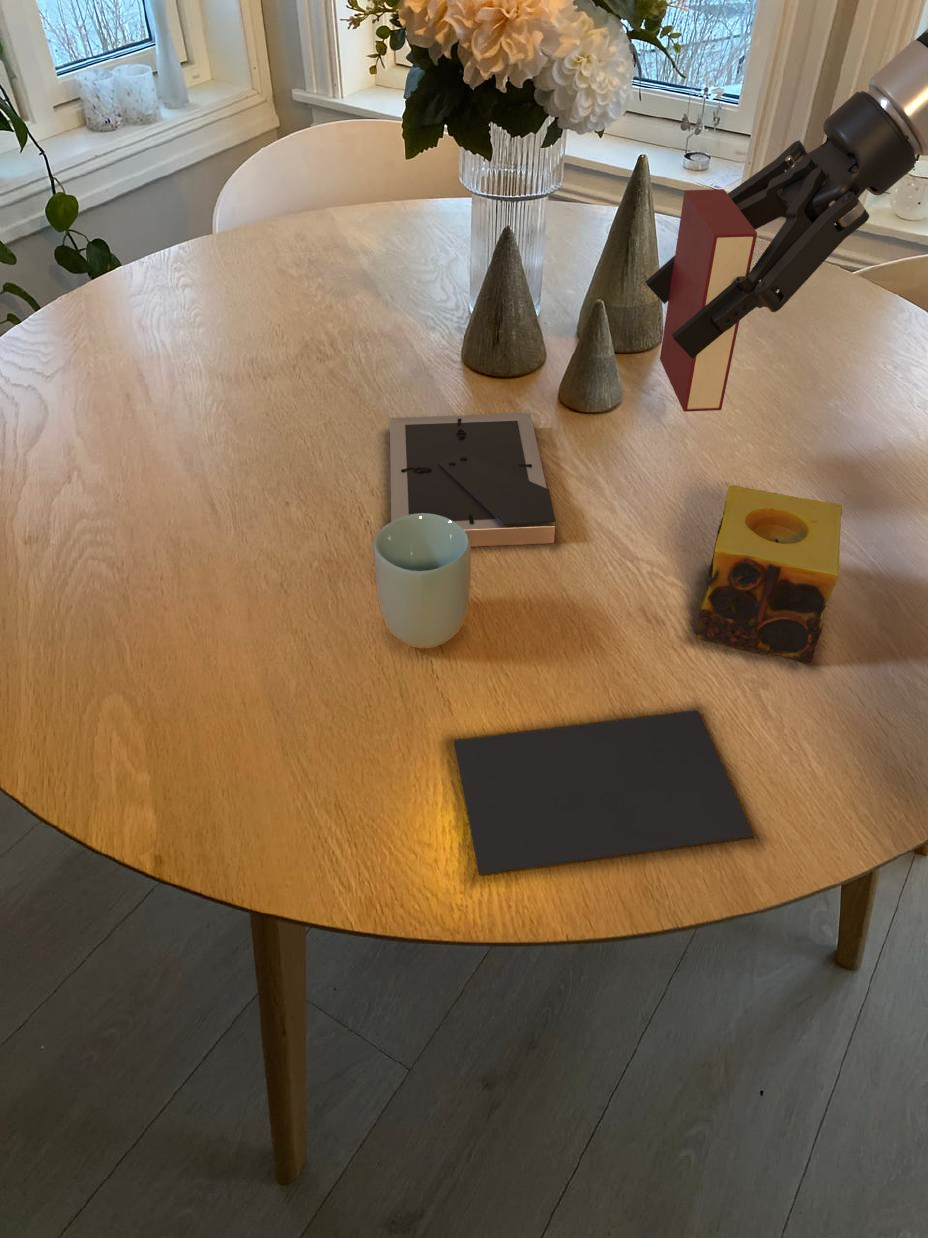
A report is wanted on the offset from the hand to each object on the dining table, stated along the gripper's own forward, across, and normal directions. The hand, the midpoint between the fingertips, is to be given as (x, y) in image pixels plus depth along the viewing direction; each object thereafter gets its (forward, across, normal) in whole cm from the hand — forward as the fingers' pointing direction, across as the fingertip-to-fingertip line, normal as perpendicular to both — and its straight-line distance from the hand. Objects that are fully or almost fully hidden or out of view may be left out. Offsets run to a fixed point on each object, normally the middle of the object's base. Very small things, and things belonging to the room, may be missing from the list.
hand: (667, 318), depth 86 cm
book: (+3, 0, -7) cm, 7 cm away
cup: (+30, -18, +2) cm, 35 cm away
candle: (+9, -18, -19) cm, 28 cm away
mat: (+22, -36, -6) cm, 43 cm away
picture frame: (+27, +4, -1) cm, 27 cm away
